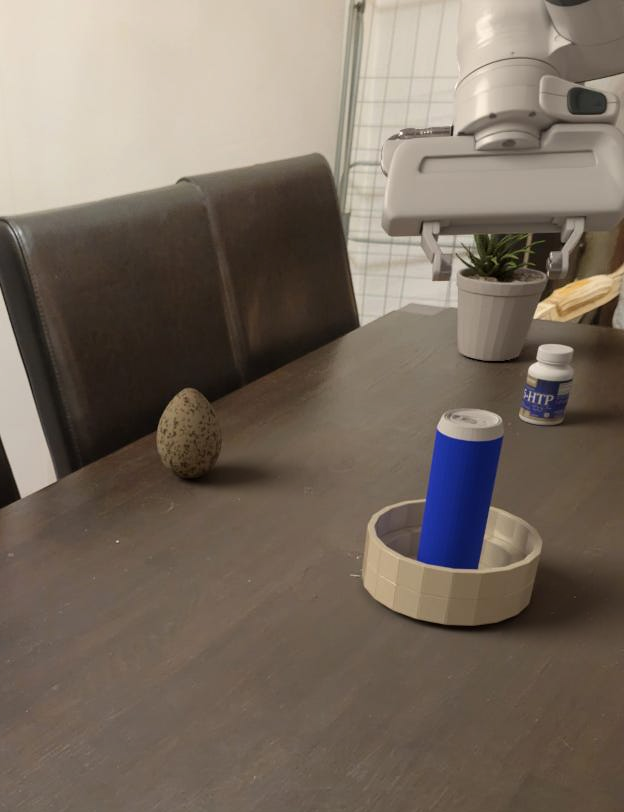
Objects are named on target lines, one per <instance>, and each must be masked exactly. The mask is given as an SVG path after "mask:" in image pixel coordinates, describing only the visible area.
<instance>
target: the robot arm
mask: <svg viewBox="0 0 624 812" xmlns="http://www.w3.org/2000/svg"><path fill="white" fill-rule="evenodd" d="M457 18H458V19H457V28H456V39H455V40H456V42H455V58H456V63H457V67H458V71H459V73H458V75H459V76H458V79H457V82H456V84H455V87H454V93H453V99H452V101H453V103H452V121H451V122H452V124H451V125H443V126H431V127H426V128H415V127H406V128H403V129H400V130H399V132H398V133H395V134H392V136H390V137H388V138H387V139H386V140H385V141H384V143H383V145H382V147H381V151H380V170H381V172H382V174H383V175H384V176H385V177H386V183H385V188H384V195H383V202H382V208H381V209H382V210H381V211H382V212H381V222H380V223H381V224H380V226H381V228H382V229H383V231H384V232H385V234H387V236H389V237H391V238H392V237H393V238H394V237H395V238H397V237H399V238H400V237H420V248H421V249H422V251H423V253H424V254H425V256H426V258H427V259H428V261H429V262H430V264H432V269H431V272H432V273H431V281H432V282H449V281H450V280H451V276H452V270H453V266H452V263H453V253H443V250H442V249H441V247H440V245H439V244H438V241H439V237H440V236H474V235H479V234H488V235H493V234H497V235H510V234H512V235H513V234H514V235H515V234H516V235H519V234H522V233H523V234H524V233H526V234H531V233H535V234H550V233H551V234H552V233H553V234H554V233H556V234H557V233H560V242H561V243H564V246H563V247H562V249H561V250H554V251H550V253H549V255H548V257H547V259H546V261H545V270H546V273H545V274H546V279H548V280H565V278H566V277H567V275H568V273H569V266H570V265H569V264H570V255H571V254H572V253H573V251H574V249H575V247H576V246H577V244H578V243H579V241H580V239H581V238H582V235H583V233H587V232H588V233H591V232H593V233H594V232H595V233H596V232H610V231H612V230H614V229H615V228H616V227H617V226H618V225H619V224H620V222H621V221H622V220H623V219H624V132H623V131H622V130H621V129H620V128H618V127H617V126H616V125H617V122H618V120H619V115H620V111H621V98H620V97H619V96H618V95H617V94H616V93H613V92H612V91H611V92H610V91H607V90H601V89H597V88H594V87H591V86H586V85H582V83H586V82H593V81H597V80H602V79H606V78H612V77H615V76H618V75H622V74H624V0H460V3H459V9H458V17H457ZM580 83H581V84H580Z"/></svg>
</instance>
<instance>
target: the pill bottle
mask: <svg viewBox="0 0 624 812" xmlns="http://www.w3.org/2000/svg"><path fill="white" fill-rule="evenodd" d="M573 354H574V348H572V347H571V346H569V345H564V344H558V343H546V344H541V345H539V346H538V348H537V353H536V358H535V359H536V361H537V362H534V363H532V364H531V365H530V366H529V367H528V370H527V374H526V379H525V384H524V388H523V393H522V398H521V403H520V408H519V412H518V414H519V415H518V416H519V418H520V420H522V421H523V422H525V423H528V424H532V425H535V426H536V425H537V426H555V425H559V424H561V423H562V422H563V421H564V419H565V414H566V410H567V406H568V401H569V397H570V393H571V389H572V385H573V380H574V377H575V372H574V369H573V367H572V366H570V365H569V364H570V363H571V362H572V360H573V356H574V355H573Z"/></svg>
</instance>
